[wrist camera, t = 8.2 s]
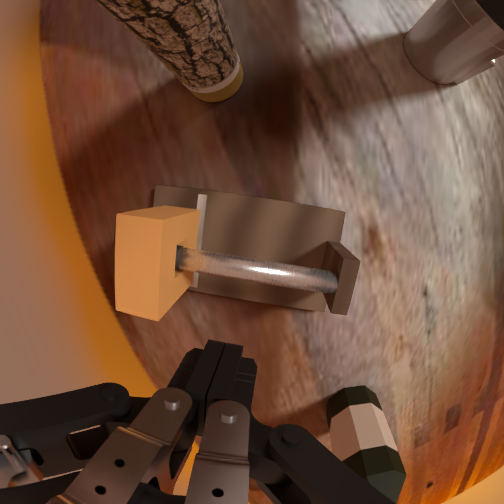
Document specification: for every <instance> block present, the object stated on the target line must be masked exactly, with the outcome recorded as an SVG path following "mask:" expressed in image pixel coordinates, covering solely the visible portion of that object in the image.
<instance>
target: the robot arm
mask: <svg viewBox="0 0 504 504" xmlns="http://www.w3.org/2000/svg"><path fill="white" fill-rule="evenodd" d="M404 48H405V52H406V54H407V57H408V58H409V60H410V62H411V63H412V64H413V66H414V67H415V68H416V69H417V70H418V71H419V72H420V73H421V74H422V75H423V76H425V77H426V78H428V79H429V80H431V81H433V82H435V83H438V84H449V83H456V84H460V83H462V82H464V81H466V80H468V79H470V78H472V77H473V76H475V75H477V74H479V73H481V72H483V71H485V70H487V69H489V68H491V67H493V66H495V59H496V58H498V57H500V56H502V55H504V0H436V1H435V2H434V3H433V5H432V6H431V7H430V8H429V9H428V10H427V11H426V13H425V14H424V15H423V16H422V17H421V18H420V19H419V21H418V22H417V23H416V24H415V25H414V26H413V27H412V28H411V29H410V31H409V32H408V33H407V35H406V36H405V39H404ZM242 353H243V346H241V345H236V344H230V343H225V342H220V341H214V340H210V339H209V340H208V342H207V344H206V346H205V348H204V350H203V349H198V348H194V349H192V350H191V351H189V352H187V353H186V355H185V357H184V358H183V360H182V362H181V364H180V365H179V368H178V369H177V371H176V372H175V374H174V376H173V378H172V379H171V381H170V383H169V385H168V386H167V388H163V389H160V390H158V391H157V392H155V393H154V395H153V396H152V397H149V398H142V397H130V396H129V393H128V391H127V389H126V388H125V387H123V386H122V385H120V384H116V383H102V384H98V385H94V386H90V387H86V388H82V389H78V390H74V391H69V392H65V393H61V394H56V395H51V396H46V397H41V398H36V399H31V400H25V401H20V402H13V403H7V404H0V504H248V485H249V477H250V478H253V479H255V480H256V482H257V484H258V486H259V487H260V488H261V489H262V490H263V492H264V493H265V494H266V495H267V496H268V497H269V499H270V500H271V501H272V502H273V503H274V504H396V503H395V502H393V501H392V500H390V499H389V498H388V497H386V496H385V495H384V494H382V493H381V492H380V491H378V490H377V489H376V488H374V487H373V486H372V485H370V484H369V483H368V482H367V481H365V480H364V479H363V478H362V477H360V476H359V475H358V474H357V473H355V472H354V471H353V470H352V469H350V468H349V467H348V466H347V465H346V464H344V463H343V462H342V461H341V460H340V459H338V458H337V457H336V456H335V455H334V454H333V453H332V452H330V451H329V450H328V449H327V448H326V447H325V446H324V445H322V444H321V443H320V442H319V441H318V440H317V439H316V438H315V437H314V436H312V435H311V434H310V433H309V432H308V431H307V430H306V429H304V428H302V427H300V426H298V425H293V424H283V425H279V426H277V427H275V428H271V427H268V426H266V425H264V424H262V423H260V422H259V421H257V420H256V419H255V418H254V416H253V415H252V412H251V404H252V398H253V391H254V385H255V379H256V373H257V365H256V363H255V361H254V359H250V358H244V357H242ZM97 425H100V427H97V428H93V429H89V430H86V431H82V432H79V433H74V434H69V433H71V432H74V431H78V430H82V429H86V428H90V427H93V426H97ZM196 435H198V436H202V438H201V443H200V447H199V452H198V453H197V454H196V456H195V459H194V464H193V468H192V473H191V477H190V481H189V486H188V491H187V495H186V496H178V495H173V489H174V485H175V483H176V481H177V479H178V477H179V475H180V473H181V471H182V469H183V467H184V465H185V463H186V460H187V458H188V456H189V454H190V452H191V450H192V444H193V442H194V439H195V436H196ZM82 468H83V470H82V471H78V472H74V473H70V474H67V475H63V476H59V477H56V478H52V479H48V480H43V481H42V479H43V478H45V477H50V476H54V475H59V474H63V473H67V472H71V471H75V470H79V469H82Z"/></svg>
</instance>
